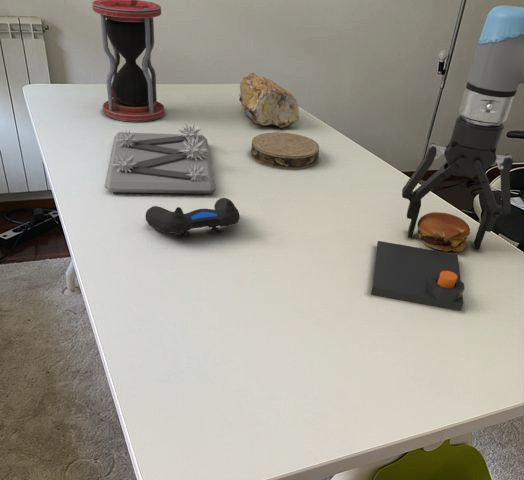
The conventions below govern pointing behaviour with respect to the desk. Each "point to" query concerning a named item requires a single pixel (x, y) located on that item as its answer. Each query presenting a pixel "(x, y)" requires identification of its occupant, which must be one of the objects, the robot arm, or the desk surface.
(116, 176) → the decorative plate
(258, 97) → the petrified wood
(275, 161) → the wood log slice
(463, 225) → the burger
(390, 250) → the scale
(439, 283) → the button
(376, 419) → the desk surface
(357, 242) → the desk surface
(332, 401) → the desk surface
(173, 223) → the gaming controller
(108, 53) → the hourglass
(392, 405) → the desk surface
